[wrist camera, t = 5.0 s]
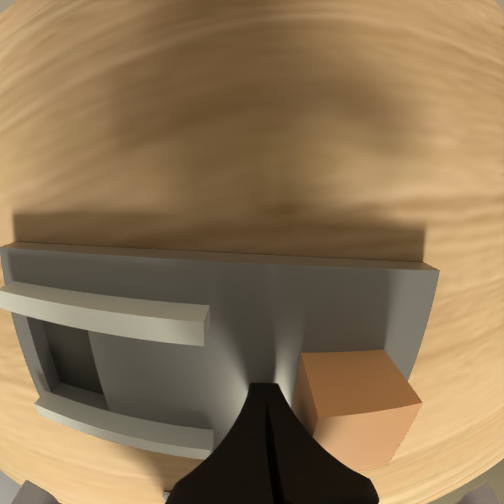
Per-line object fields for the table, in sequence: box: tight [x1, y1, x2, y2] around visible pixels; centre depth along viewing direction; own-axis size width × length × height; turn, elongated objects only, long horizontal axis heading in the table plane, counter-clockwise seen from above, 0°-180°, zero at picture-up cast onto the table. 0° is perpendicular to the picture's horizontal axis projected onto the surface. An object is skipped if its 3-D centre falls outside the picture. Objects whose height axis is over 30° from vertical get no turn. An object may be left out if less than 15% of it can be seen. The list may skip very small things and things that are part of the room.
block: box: [291, 349, 422, 472], centre depth 10 cm, size 4×4×4 cm
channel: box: [0, 242, 440, 460], centre depth 12 cm, size 12×22×3 cm, turn 87°
